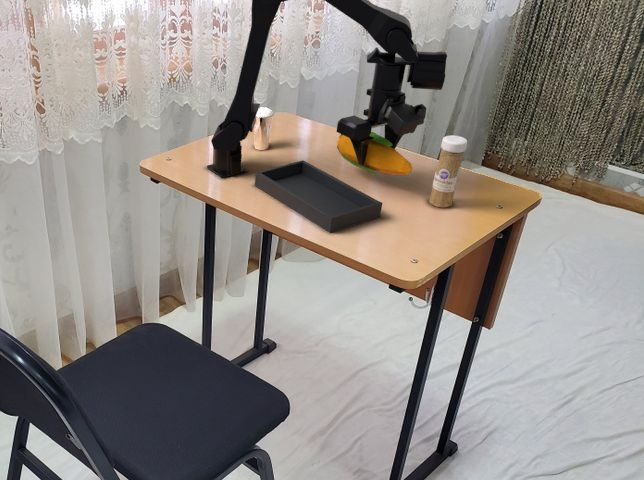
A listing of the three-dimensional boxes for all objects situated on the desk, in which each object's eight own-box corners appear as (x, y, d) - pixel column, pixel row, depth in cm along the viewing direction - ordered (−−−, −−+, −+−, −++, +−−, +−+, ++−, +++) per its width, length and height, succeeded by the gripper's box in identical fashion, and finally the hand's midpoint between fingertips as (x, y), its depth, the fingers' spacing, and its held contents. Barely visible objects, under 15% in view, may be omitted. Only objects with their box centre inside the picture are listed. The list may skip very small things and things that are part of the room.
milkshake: (246, 144, 174) (249, 102, 168) (268, 143, 174) (272, 101, 168) (250, 151, 170) (252, 108, 164) (273, 150, 171) (276, 107, 165)
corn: (355, 116, 158) (429, 145, 145) (352, 150, 163) (423, 180, 150) (330, 126, 155) (403, 156, 142) (327, 159, 160) (397, 192, 147)
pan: (254, 185, 155) (255, 172, 154) (301, 173, 160) (303, 160, 159) (329, 232, 138) (331, 218, 137) (380, 217, 143) (382, 203, 142)
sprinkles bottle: (427, 206, 147) (441, 141, 139) (430, 197, 151) (444, 133, 143) (451, 210, 146) (467, 144, 138) (453, 200, 149) (468, 136, 141)
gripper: (379, 105, 135) (366, 185, 144) (451, 89, 143) (434, 165, 152) (340, 89, 143) (330, 165, 152) (410, 74, 150) (396, 148, 160)
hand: (374, 161), depth 154 cm, fingers closed on corn, 7 cm apart
